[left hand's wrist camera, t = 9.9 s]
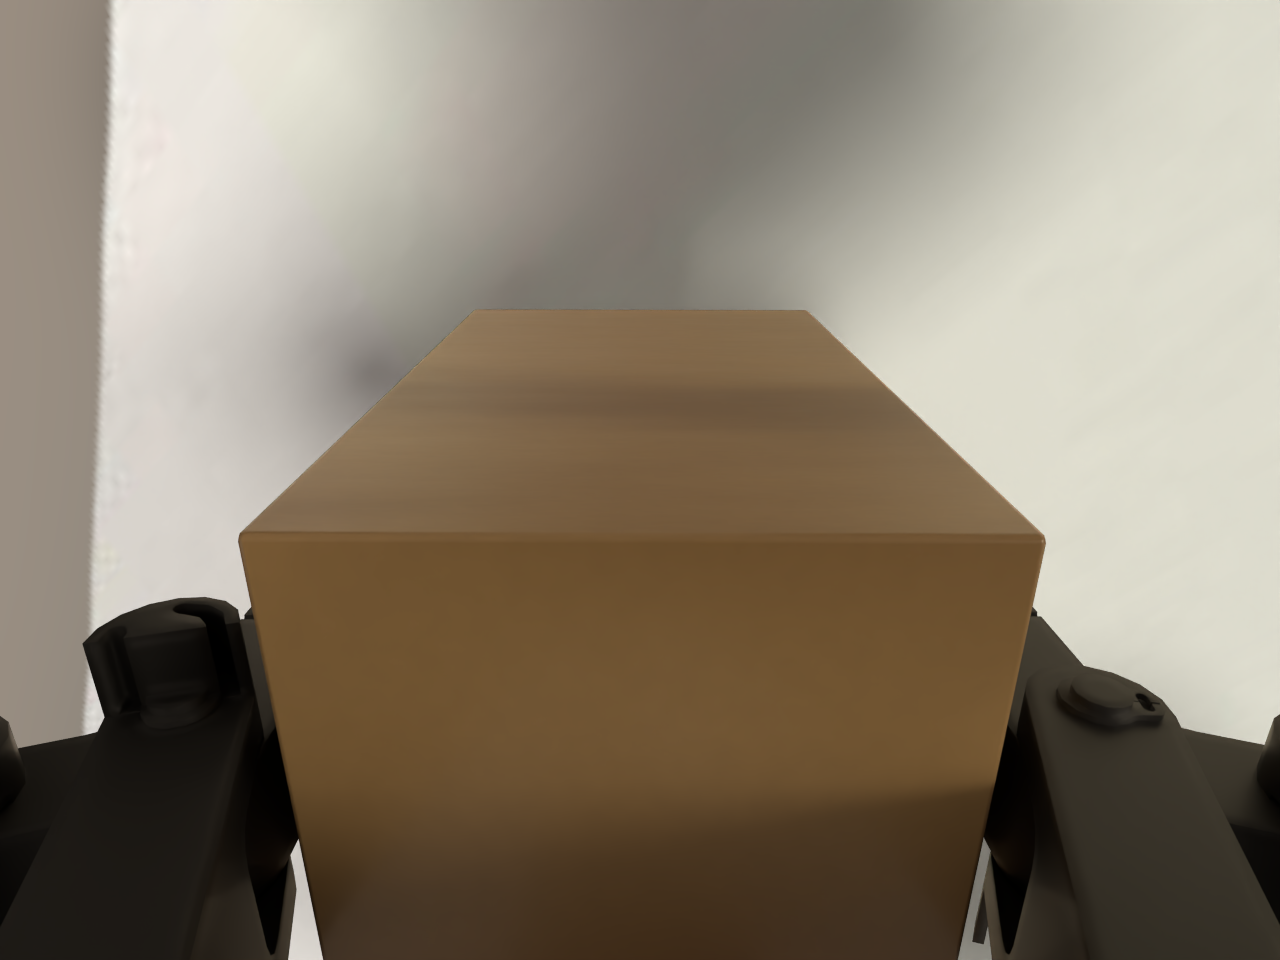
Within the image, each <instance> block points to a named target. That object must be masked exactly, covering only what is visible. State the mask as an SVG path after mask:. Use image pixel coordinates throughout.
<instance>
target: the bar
mask: <svg viewBox="0 0 1280 960" xmlns="http://www.w3.org/2000/svg"><path fill="white" fill-rule="evenodd" d="M238 543H239V548H240V552H241V557H242V562H243V567H244V572H245V577H246V582H247V587H248V592H249V597H250V602H251V607H252V611H253V616H254V621H255V626H256V631H257V636H258V641H259V646H260V651H261V656H262V661H263V666H264V671H265V675H266V680H267V685H268V690H269V695H270V700H271V705H272V710H273V715H274V720H275V725H276V730H277V734H278V739H279V744H280V749H281V754H282V759H283V764H284V769H285V774H286V779H287V784H288V789H289V793H290V798H291V803H292V808H293V813H294V818H295V823H296V828H297V833H298V838H299V843H300V848H301V852H302V857H303V862H304V867H305V872H306V877H307V882H308V887H309V892H310V897H311V902H312V907H313V912H314V916H315V921H316V926H317V931H318V936H319V941H320V946H321V951H322V956H323V960H958V956H959V951H960V946H961V942H962V937H963V932H964V927H965V923H966V918H967V913H968V909H969V904H970V899H971V894H972V890H973V885H974V880H975V875H976V871H977V866H978V861H979V857H980V852H981V847H982V842H983V838H984V833H985V828H986V824H987V819H988V814H989V809H990V805H991V800H992V795H993V790H994V786H995V781H996V776H997V772H998V767H999V762H1000V757H1001V753H1002V748H1003V743H1004V738H1005V734H1006V729H1007V724H1008V720H1009V715H1010V710H1011V705H1012V701H1013V696H1014V691H1015V686H1016V682H1017V677H1018V672H1019V668H1020V663H1021V658H1022V653H1023V649H1024V644H1025V639H1026V634H1027V630H1028V625H1029V620H1030V616H1031V611H1032V606H1033V601H1034V597H1035V592H1036V587H1037V582H1038V578H1039V573H1040V568H1041V564H1042V559H1043V554H1044V549H1045V545H1046V541H1045V537H1044V535H1043V534H1042V533H1041V532H1040V531H1039V530H1038V529H1037V528H1036V527H1035V526H1034V525H1033V524H1032V523H1031V522H1029V521H1028V520H1027V519H1026V518H1025V517H1024V516H1023V515H1022V514H1021V513H1020V512H1019V511H1018V510H1017V509H1016V508H1015V507H1014V506H1013V505H1012V504H1010V503H1009V502H1008V501H1007V500H1006V499H1005V498H1004V497H1003V496H1002V495H1001V494H1000V493H999V492H998V491H997V490H996V489H995V488H994V487H993V486H991V485H990V484H989V483H988V482H987V481H986V480H985V479H984V478H983V477H982V476H981V475H980V474H979V473H978V472H977V471H976V470H975V469H974V468H973V467H971V466H970V465H969V464H968V463H967V462H966V461H965V460H964V459H963V458H962V457H961V456H960V455H959V454H958V453H957V452H956V451H955V450H954V449H952V448H951V447H950V446H949V445H948V444H947V443H946V442H945V441H944V440H943V439H942V438H941V437H940V436H939V435H938V434H937V433H936V432H935V431H933V430H932V429H931V428H930V427H929V426H928V425H927V424H926V423H925V422H924V421H923V420H922V419H921V418H920V417H919V416H918V415H917V414H916V413H914V412H913V411H912V410H911V409H910V408H909V407H908V406H907V405H906V404H905V403H904V402H903V401H902V400H901V399H900V398H899V397H898V396H897V395H895V394H894V393H893V392H892V391H891V390H890V389H889V388H888V387H887V386H886V385H885V384H884V383H883V382H882V381H881V380H880V379H879V378H878V377H876V376H875V375H874V374H873V373H872V372H871V371H870V370H869V369H868V368H867V367H866V366H865V365H864V364H863V363H862V362H861V361H860V360H859V359H858V358H856V357H855V356H854V355H853V354H852V353H851V352H850V351H849V350H848V349H847V348H846V347H845V346H844V345H843V344H842V343H841V342H840V341H839V340H837V339H836V338H835V337H834V336H833V335H832V334H831V333H830V332H829V331H828V330H827V329H826V328H825V327H824V326H823V325H822V324H821V323H820V322H818V321H817V320H816V319H815V318H814V317H813V316H812V315H811V314H810V313H809V312H808V311H806V310H489V309H476V310H474V311H473V312H472V313H471V314H470V315H469V316H468V317H467V318H466V319H465V320H464V321H463V322H461V323H460V324H459V325H458V326H457V327H456V328H455V329H454V330H453V331H452V332H451V333H450V334H449V335H448V336H447V337H446V338H445V339H444V340H443V341H442V342H440V343H439V344H438V345H437V346H436V347H435V348H434V349H433V350H432V351H431V352H430V353H429V354H428V355H427V356H426V357H425V358H424V359H423V360H422V361H421V362H419V363H418V364H417V365H416V366H415V367H414V368H413V369H412V370H411V371H410V372H409V373H408V374H407V375H406V376H405V377H404V378H403V379H402V380H401V381H399V382H398V383H397V384H396V385H395V386H394V387H393V388H392V389H391V390H390V391H389V392H388V393H387V394H386V395H385V396H384V397H383V398H382V399H381V400H380V401H378V402H377V403H376V404H375V405H374V406H373V407H372V408H371V409H370V410H369V411H368V412H367V413H366V414H365V415H364V416H363V417H362V418H361V419H360V420H359V421H357V422H356V423H355V424H354V425H353V426H352V427H351V428H350V429H349V430H348V431H347V432H346V433H345V434H344V435H343V436H342V437H341V438H340V439H339V440H337V441H336V442H335V443H334V444H333V445H332V446H331V447H330V448H329V449H328V450H327V451H326V452H325V453H324V454H323V455H322V456H321V457H320V458H319V459H318V460H316V461H315V462H314V463H313V464H312V465H311V466H310V467H309V468H308V469H307V470H306V471H305V472H304V473H303V474H302V475H301V476H300V477H299V478H298V479H297V480H295V481H294V482H293V483H292V484H291V485H290V486H289V487H288V488H287V489H286V490H285V491H284V492H283V493H282V494H281V495H280V496H279V497H278V498H277V499H276V500H274V501H273V502H272V503H271V504H270V505H269V506H268V507H267V508H266V509H265V510H264V511H263V512H262V513H261V514H260V515H259V516H258V517H257V518H256V519H254V520H253V521H252V522H251V523H250V524H249V525H248V526H247V527H246V528H245V529H244V530H243V531H242V532H241V533H240V535H239V539H238Z"/></svg>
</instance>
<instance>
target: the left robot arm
mask: <svg viewBox="0 0 1280 960" xmlns="http://www.w3.org/2000/svg"><path fill="white" fill-rule="evenodd" d="M83 647H84V651H85V654H86V657H87V660H88V664H89V667H90V670H91V674H92V677H93V680H94V684H95V687H96V690H97V694H98V697H99V700H100V704H101V707H102V710H103V714H104V717H105V718H104V720H103V722H102V724H101V726H100V728H99V730H98V732H96V733H92V734H88V735H83V736H79V737H74V738H68V739H63V740H58V741H53V742H48V743H43V744H38V745H33V746H28V747H23V748H18V747H17V745H16V742H15V739H14V736H13V733H12V731H11V728H10V725H9V722H8V721H6V720H5V719H3V718H2V717H1V716H0V960H288V956H289V947H290V939H291V931H292V923H293V914H294V906H295V898H296V883H295V876H294V871H293V866H292V861H291V856H290V855H291V853H292V851H293V849H294V847H295V845H296V843H297V841H298V839H299V838H298V833H297V828H296V823H295V818H294V813H293V808H292V803H291V798H290V793H289V789H288V784H287V779H286V774H285V769H284V764H283V759H282V754H281V749H280V744H279V739H278V734H277V730H276V725H275V720H274V715H273V710H272V705H271V700H270V695H269V690H268V685H267V680H266V675H265V671H264V666H263V661H262V656H261V651H260V646H259V641H258V636H257V631H256V626H255V621H254V616H253V611H252V607H251V608H250V609H249V610H248V611H247V613H246V614H245V618H244V619H241V620H240V617H239V613H238V609H236V608H235V607H233V606H232V605H231V604H229V603H228V602H226V601H223V600H218V599H212V598H207V597H197V598H178V599H173V600H168V601H163V602H158V603H153V604H149V605H146V606H144V607H141V608H138V609H135V610H133V611H130V612H127V613H125V614H122V615H120V616H118V617H116V618H115V619H113V620H111V621H109V622H108V623H106V624H104V625H103V626H101V627H99V628H97V629H96V630H95V631H94V632H93V633H92V634H91V636H90V637H89V638H88V639H87V640H86V641H85V642H84V643H83ZM984 839H985V841H986V843H987V845H988V847H989V849H990V851H991V852H990V856H989V861H988V866H987V871H986V875H985V880H984V885H983V889H982V894H981V899H980V903H979V908H978V913H977V917H976V922H975V928H974V934H973V941H972V942H976V943H980V944H984V940H985V936H986V931H987V927H988V929H989V937H990V945H991V954H992V960H1280V715H1278V716H1277V717H1275V718H1274V720H1273V723H1272V726H1271V728H1270V731H1269V734H1268V737H1267V740H1266V742H1265V745H1262V744H1257V743H1251V742H1246V741H1241V740H1236V739H1231V738H1226V737H1221V736H1216V735H1211V734H1206V733H1200V732H1196V731H1192V730H1188V729H1184V728H1181V726H1180V724H1179V722H1178V720H1177V718H1176V716H1175V715H1174V714H1173V713H1172V711H1171V710H1170V709H1169V708H1168V707H1167V705H1166V704H1165V703H1164V702H1163V700H1162V699H1160V698H1159V697H1157V696H1156V695H1154V694H1153V693H1151V692H1150V691H1148V690H1147V689H1146V688H1144V687H1143V686H1141V685H1140V684H1137V683H1135V682H1133V681H1130V680H1128V679H1126V678H1123V677H1121V676H1119V675H1116V674H1114V673H1111V672H1107V671H1103V670H1099V669H1094V668H1090V667H1086V666H1083V665H1082V663H1081V662H1080V661H1079V660H1078V659H1077V658H1076V657H1075V655H1074V654H1073V653H1072V652H1071V651H1070V650H1069V648H1068V647H1067V646H1066V645H1065V644H1064V643H1063V641H1062V640H1061V639H1060V638H1059V637H1058V636H1057V635H1056V633H1055V632H1054V631H1053V630H1052V629H1051V628H1050V626H1049V625H1048V624H1047V623H1046V622H1045V621H1044V619H1043V618H1042V617H1037V611H1036V610H1035V609H1034V608H1033V607H1032V611H1031V616H1030V620H1029V625H1028V630H1027V634H1026V639H1025V644H1024V649H1023V653H1022V658H1021V663H1020V668H1019V672H1018V677H1017V682H1016V686H1015V691H1014V696H1013V701H1012V705H1011V710H1010V715H1009V720H1008V724H1007V729H1006V734H1005V738H1004V743H1003V748H1002V753H1001V757H1000V762H999V767H998V772H997V776H996V781H995V786H994V790H993V795H992V800H991V805H990V809H989V814H988V819H987V824H986V828H985V833H984Z"/></svg>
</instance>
